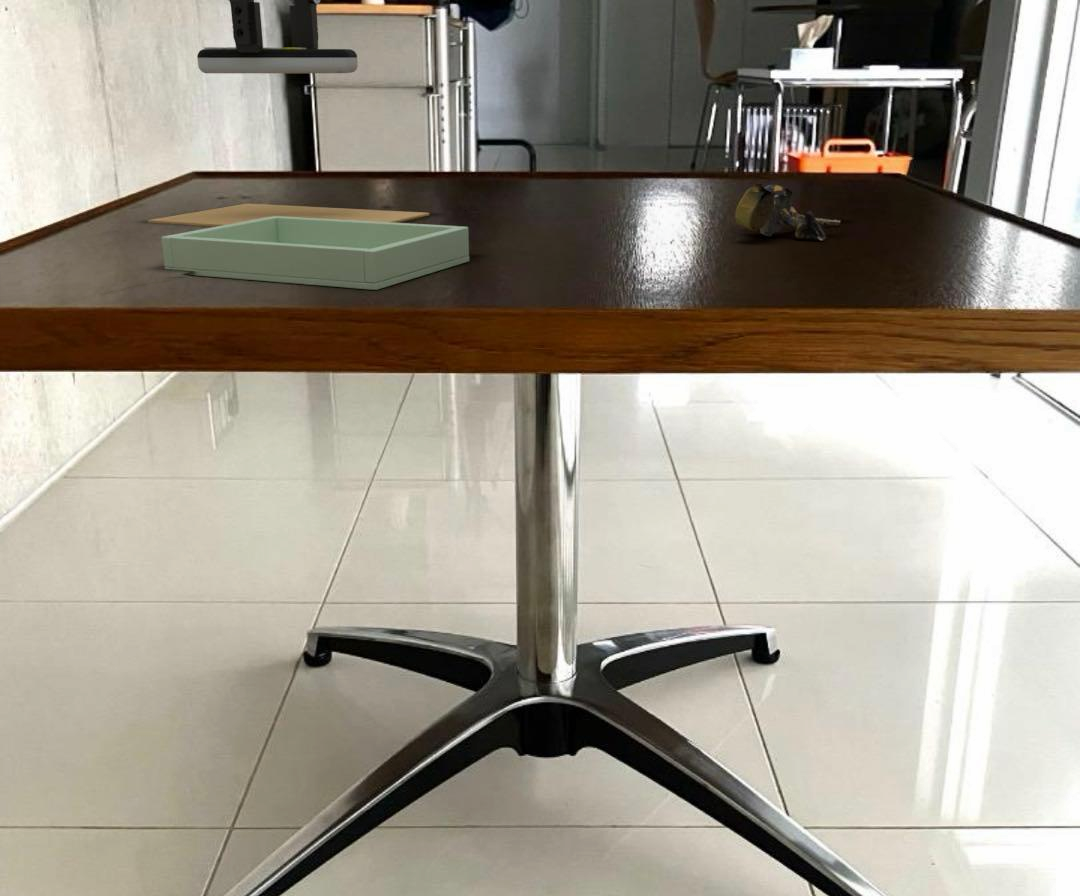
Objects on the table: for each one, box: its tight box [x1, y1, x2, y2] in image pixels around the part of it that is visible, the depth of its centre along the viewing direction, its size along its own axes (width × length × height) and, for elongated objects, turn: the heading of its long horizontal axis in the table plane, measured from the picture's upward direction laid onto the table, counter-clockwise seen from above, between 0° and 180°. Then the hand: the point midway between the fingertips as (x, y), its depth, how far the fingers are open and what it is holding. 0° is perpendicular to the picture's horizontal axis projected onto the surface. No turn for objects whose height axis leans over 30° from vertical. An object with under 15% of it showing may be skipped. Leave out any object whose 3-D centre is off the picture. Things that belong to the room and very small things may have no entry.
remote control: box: [196, 46, 359, 74], centre depth 103 cm, size 6×13×2 cm, turn 89°
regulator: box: [734, 183, 841, 241], centre depth 98 cm, size 8×4×15 cm
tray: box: [160, 216, 470, 291], centre depth 84 cm, size 17×13×2 cm
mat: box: [147, 203, 430, 227], centre depth 108 cm, size 20×14×1 cm
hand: (278, 51), depth 102 cm, fingers closed on remote control, 7 cm apart
